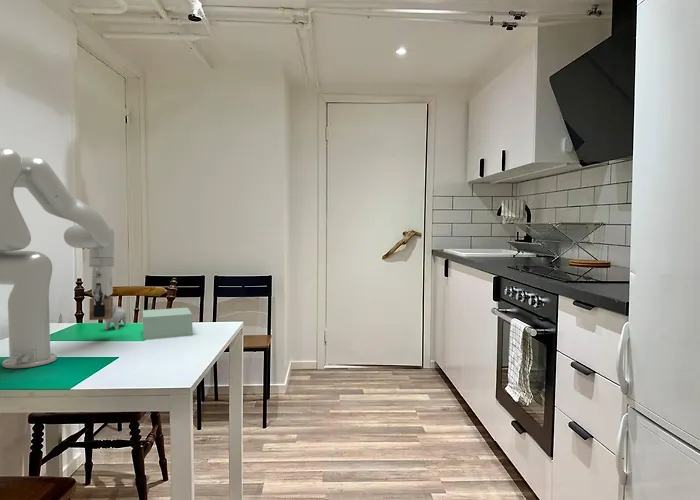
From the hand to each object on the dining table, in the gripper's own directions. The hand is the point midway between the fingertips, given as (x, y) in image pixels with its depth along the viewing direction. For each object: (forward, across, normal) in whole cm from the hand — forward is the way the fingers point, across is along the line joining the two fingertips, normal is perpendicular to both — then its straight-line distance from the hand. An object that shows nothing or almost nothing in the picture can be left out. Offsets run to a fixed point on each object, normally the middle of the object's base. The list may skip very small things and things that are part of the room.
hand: (101, 315), depth 156 cm
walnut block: (+1, 0, 0) cm, 1 cm away
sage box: (+8, +6, -21) cm, 23 cm away
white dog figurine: (+8, +22, -1) cm, 24 cm away
